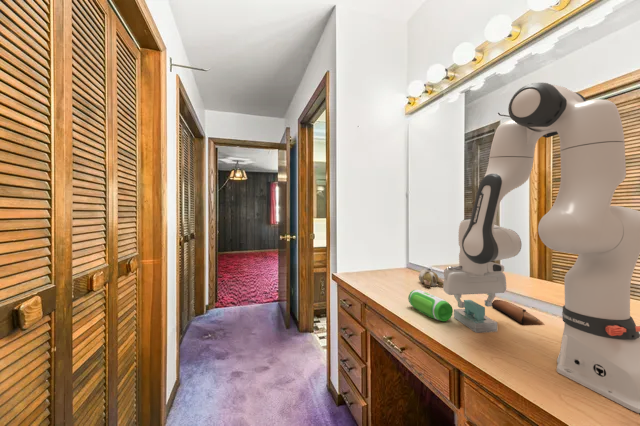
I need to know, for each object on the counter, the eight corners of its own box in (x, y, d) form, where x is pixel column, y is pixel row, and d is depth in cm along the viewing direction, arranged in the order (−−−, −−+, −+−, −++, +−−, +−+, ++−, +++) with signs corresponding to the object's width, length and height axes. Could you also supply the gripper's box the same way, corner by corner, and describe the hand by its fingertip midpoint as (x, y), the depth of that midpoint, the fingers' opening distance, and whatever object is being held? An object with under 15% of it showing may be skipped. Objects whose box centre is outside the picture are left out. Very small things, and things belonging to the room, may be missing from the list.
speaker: (454, 321, 99) (454, 300, 99) (436, 324, 97) (436, 302, 97) (422, 305, 116) (422, 287, 116) (407, 307, 114) (406, 289, 114)
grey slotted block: (497, 331, 90) (497, 322, 90) (475, 332, 89) (475, 323, 89) (472, 316, 103) (472, 308, 102) (454, 317, 102) (453, 309, 102)
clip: (485, 328, 92) (484, 307, 92) (478, 329, 92) (477, 307, 92) (470, 319, 100) (470, 299, 100) (464, 319, 100) (463, 300, 100)
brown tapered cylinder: (548, 325, 94) (537, 307, 94) (529, 336, 94) (518, 318, 94) (512, 307, 112) (503, 292, 112) (497, 316, 112) (488, 301, 112)
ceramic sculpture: (431, 265, 154) (448, 272, 140) (431, 280, 155) (448, 289, 140) (413, 266, 153) (428, 274, 138) (413, 282, 153) (428, 291, 138)
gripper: (448, 268, 92) (449, 311, 92) (509, 266, 93) (510, 308, 93) (439, 264, 98) (440, 305, 98) (495, 263, 99) (497, 302, 99)
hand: (474, 306), depth 95 cm, fingers open, 8 cm apart
